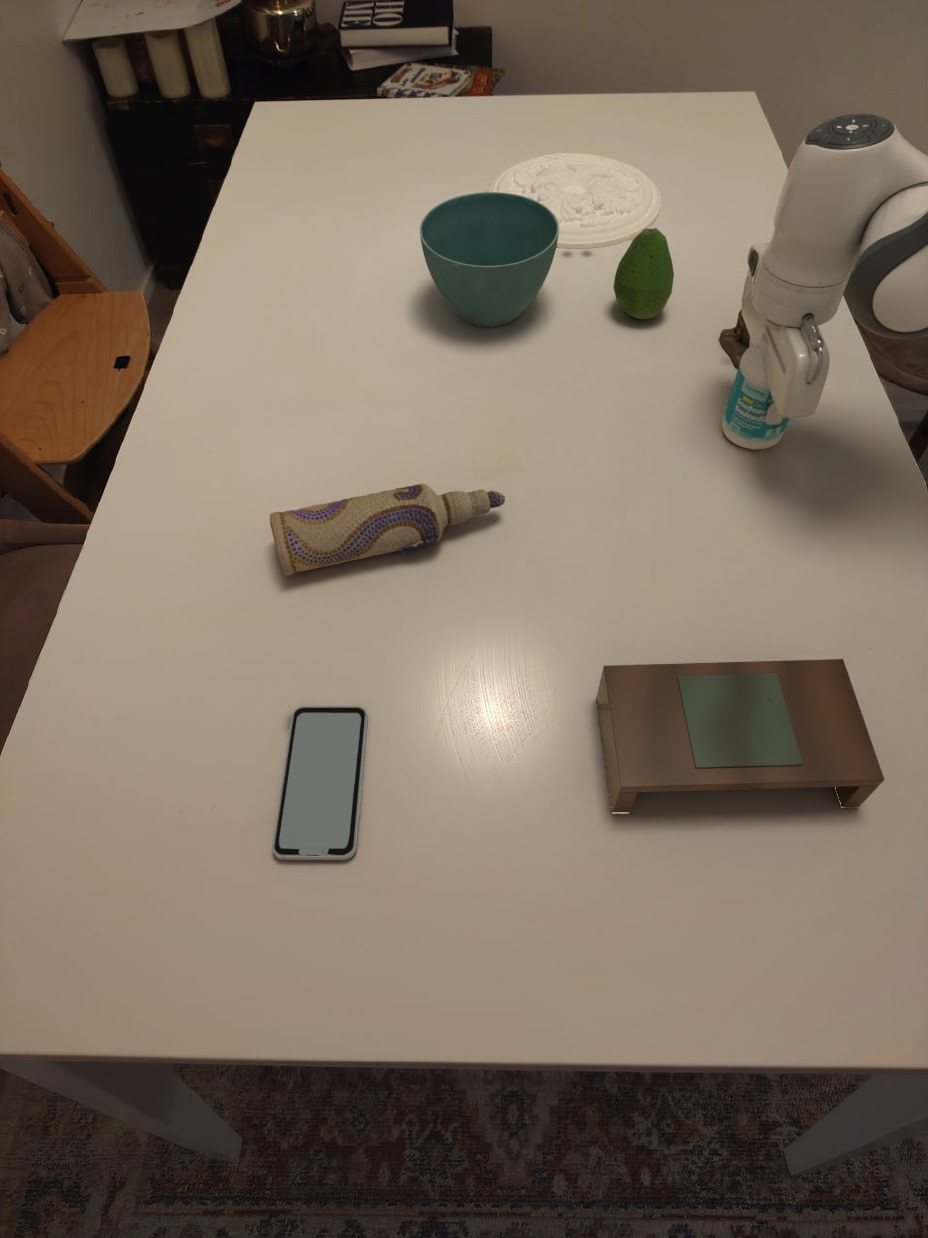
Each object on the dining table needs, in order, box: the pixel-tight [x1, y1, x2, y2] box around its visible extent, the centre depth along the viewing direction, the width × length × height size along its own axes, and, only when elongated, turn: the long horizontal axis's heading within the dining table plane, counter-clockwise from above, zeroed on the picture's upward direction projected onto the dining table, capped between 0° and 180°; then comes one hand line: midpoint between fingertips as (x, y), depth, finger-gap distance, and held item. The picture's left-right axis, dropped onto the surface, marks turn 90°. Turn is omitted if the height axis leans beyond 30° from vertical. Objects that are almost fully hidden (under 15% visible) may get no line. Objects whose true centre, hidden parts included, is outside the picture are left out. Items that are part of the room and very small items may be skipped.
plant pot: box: [419, 191, 559, 328], centre depth 113 cm, size 18×18×12 cm
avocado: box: [612, 227, 675, 320], centre depth 112 cm, size 8×8×12 cm
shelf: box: [595, 658, 885, 813], centre depth 74 cm, size 22×12×6 cm, turn 91°
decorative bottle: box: [269, 483, 506, 576], centre depth 90 cm, size 26×8×7 cm, turn 105°
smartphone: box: [271, 705, 369, 861], centre depth 75 cm, size 7×1×15 cm
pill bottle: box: [721, 333, 791, 450], centre depth 96 cm, size 8×7×14 cm
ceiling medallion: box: [487, 152, 662, 250], centre depth 133 cm, size 28×28×3 cm
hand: (762, 395), depth 97 cm, fingers closed on pill bottle, 7 cm apart
